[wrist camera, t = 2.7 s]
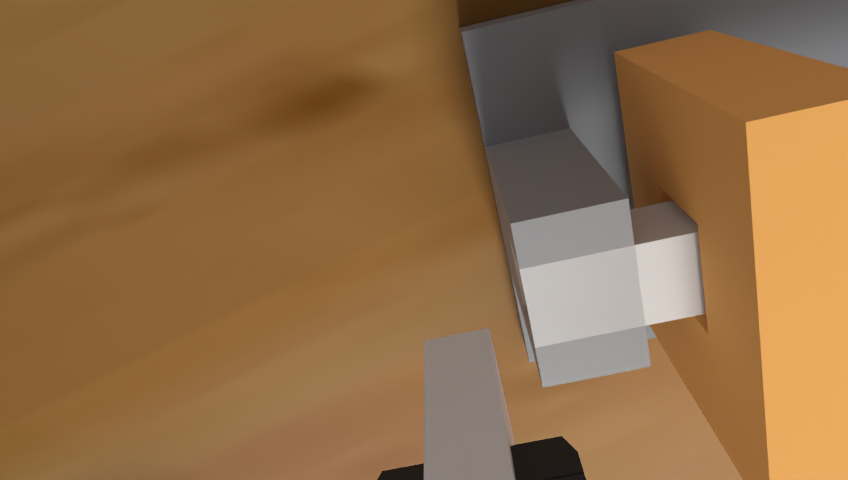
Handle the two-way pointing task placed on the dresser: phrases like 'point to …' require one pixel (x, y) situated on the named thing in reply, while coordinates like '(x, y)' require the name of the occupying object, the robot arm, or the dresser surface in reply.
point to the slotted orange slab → (753, 239)
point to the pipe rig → (601, 168)
